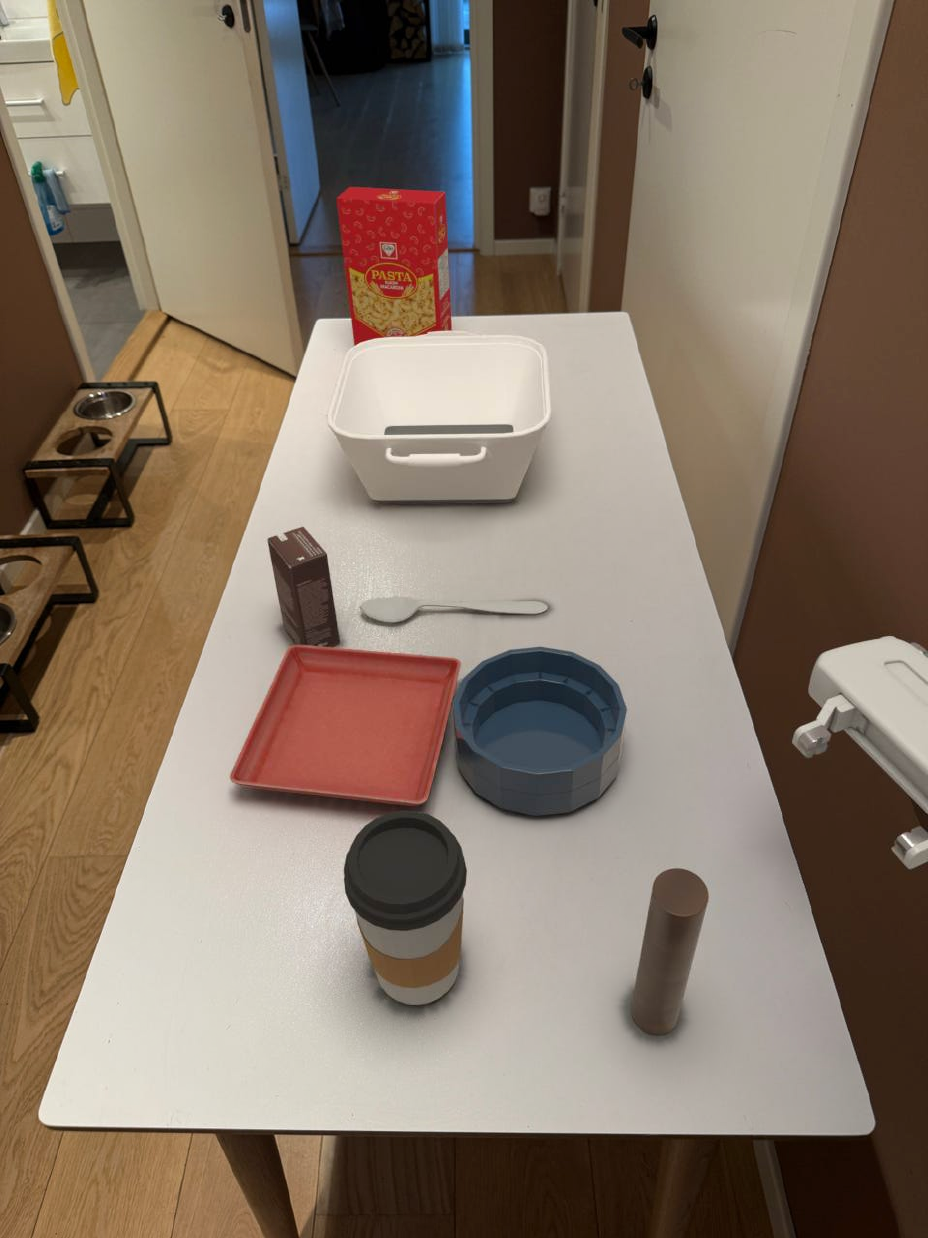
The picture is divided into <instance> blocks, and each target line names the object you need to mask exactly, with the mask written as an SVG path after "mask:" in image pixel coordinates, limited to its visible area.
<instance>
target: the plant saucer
mask: <svg viewBox="0 0 928 1238" xmlns="http://www.w3.org/2000/svg"><path fill="white" fill-rule="evenodd" d="M461 666H462V662H461V661H460V660H459V659H458V658H455V657H448V656H436V655H425V654H413V653H400V652H391V651H377V650H365V649H353V648H342V647H333V646H332V647H320V646H311V645H296V644H293V645H289V646H288V647H287V649H286V651H285V653H284V656H283V657H282V660H281V661H280V664H279V666H278V668H277V671H276V673H275V674H274V677H273V680H272V681H271V684H270V685H269V688H268V690H267V693H266V695H265V697H264V700H263V701H262V703H261V706H260V708H259V711H258V712H257V714H256V717H255V718H254V722H253V723H252V726H251V728H250V730H249V732H248V734H247V737H246V739H245V740H244V743H243V745H242V747H241V750H240V752H239V754H238V756H237V758H236V761H235V762H234V765H233V768H232V769H231V772H230V773H229V780H230V782H231V783H232V784H235V785H238V786H240V787H241V786H242V787H246V788H250V789H257V790H263V791H264V790H265V791H273V792H282V793H293V794H301V795H311V796H319V797H320V796H321V797H328V798H336V799H343V800H344V799H346V800H354V801H355V800H356V801H363V802H373V803H380V804H389V805H398V806H407V807H408V806H409V807H411V806H415V807H416V806H419V805H422V804H424V803H425V802H426V801H428V799H429V796H430V792H431V788H432V784H433V781H434V777H435V773H436V768H437V765H438V761H439V757H440V753H441V748H442V745H443V741H444V736H445V731H446V728H447V724H448V719H449V716H450V711H451V708H452V707H451V706H452V704H453V700H454V695H455V691H456V686H457V682H458V678H459V674H460V671H461Z"/></svg>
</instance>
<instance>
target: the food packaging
mask: <svg viewBox="0 0 928 1238" xmlns="http://www.w3.org/2000/svg"><path fill="white" fill-rule="evenodd" d="M446 197H447V196H446V191H437V190H435V191H434V190H415V189H397V188H378V187H361V186H349V187H347V188H346V189H345V190H344V191H343V192H342V193H341V194H340V195H339V196H338V197H336V205H337V213H338V222H339V231H340V238H341V247H342V254H343V261H344V271H345V280H346V288H347V297H348V303H349V312H350V320H351V328H352V337H353V344H354V346H356V345H357V344H359V343H361V342H365V341H368V340H372V339H376V338H385V337H415V336H419V335H424V334H428V332H434V331H453V328H452V327H453V326H452V308H451V305H452V304H451V303H452V302H451V286H450V285H451V284H450V283H451V281H450V261H449V243H448V241H449V240H448V218H447V198H446ZM354 346H353V347H354Z"/></svg>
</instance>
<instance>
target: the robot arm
mask: <svg viewBox="0 0 928 1238" xmlns="http://www.w3.org/2000/svg"><path fill="white" fill-rule="evenodd" d="M807 691H808V695H809V696H810V698H811V699H812V700H814V702H815V703H816V704H817V705H818V706H819V707H820V708H821V710H820V711H819V712H818V715H817V717H816V718H815V720H813V721H811V722H808V723H806V724H804V725H800V726H799V727H798V728H797V729H796V730H795V731H794V733H793V737H792V740H791V743H792V745H794V747H795V748H796V749H797V750H798V751H799V752H800V753H801V754H802V755H803V756H804V757H805V758H806V759H811V758H813V757H814V756H815V755H816V756H819V755H822V754H823V753H826V751H827V749H828V747H829V744H828V742H830V740H831V738H832V733H838V732H841V731H844V732H845V733H846V734H847V735H848V736H849V737H850V738H851V739H852V740H853V741H854V742H855V743H856V744H857V745H858V746H859V747H860V748H861V749H862V751H864V752H865V753H866V754H867V755H868V756H869V757H870V758H871V759H872V760H873V761H874V762H875V763H876V764H877V765H878V766H879V767H880V768H881V769H882V771H884V772H885V773H886V774H887V775H888V776H889V777H890V778H891V779H892V780H893V781H894V782H895V783H896V784H897V785H898V786H899V788H901V789H902V790H903V791H904V792H905V793H906V794H907V795H908V796H909V797H910V799H912V801H914V802H915V803H916V804H917V805H918V807H920V808H921V809H922V810H923V811H924V812H925V813H926V814H927V815H928V650H927V649H925V648H924V647H923V646H922V645H920V644H919V643H917V642H915V641H913V642H910V643H909V642H907V641H905V640H903V639H900V638H897V637H895V636H893V635H887V636H881V637H880V638H874V639H869V640H864V641H860V642H855V643H851V644H846V645H843V646H840V647H835V648H832V649H829V650H827V651H826V650H825V651H824V652H822V653H820V655H819V656H818V657H817V659H816V661H815V663H814V665H813V668H812V670H811V674H810V679H809V684H808V689H807ZM828 729H830V730H831V732H832V733H830V731H829V730H828ZM891 851H892V853H893V854H894V855H895V856H896V858H897V859H898V860H899V861H900V862H901V863H902V864H903V865H904V866H905V867H906V868H907V869H908V870H912V869H915V868H917V867H918V866H921V865H923V864H925V863H927V862H928V831H927V830H925V829H924V828H923V827H922V826H921V825H918V826H917V827H914V828H911V829H910V832H909V831H905V832H903V833H901V834H900V835H898V836H897V837H896V838H895V840H894V845H892V846H891Z"/></svg>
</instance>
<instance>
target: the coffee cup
mask: <svg viewBox="0 0 928 1238" xmlns="http://www.w3.org/2000/svg"><path fill="white" fill-rule="evenodd" d="M344 860H345V861H344V864H343V865H344V866H343V883H344V884H343V885H344V893H345V896H346V898H347V900H348V902H349V904H350V906H351V908H352V909H353V911H354V913H355V917H356V923H357V927H358V929H359V932H360V935H361V938H362V941H363V944H364V947H365V949H366V950H365V951H366V953H367V955H368V958H369V962H370V963H371V965H372V968H373V969H374V973H375V975H376V979H377V980H378V983H379V985H380V987H381V989H382V990H383V991H384V992H385V993H386V995H387V996H389V997H390V998H392V999H393V1000H395V1001H396V1002H399V1003H402V1004H405V1005H410V1006H421V1005H426V1004H430V1003H432V1002H434V1001H437V1000H438V999H440V998H442V997H443V996H444V995H445V994H446V993H448V992H449V991H450V989H452V986H453V985H454V983H455V982H456V980H457V977H458V974H459V969H460V959H461V956H462V955H461V954H462V953H461V952H462V939H463V923H464V922H463V921H464V905H465V904H464V903H465V898H464V890H465V888H466V886H467V877H468V868H467V864H466V859H465V856H464V853H463V848H462V846H461V844H460V842H459V841H458V839H457V837H456V836H455V834H453V832H452V831H451V830H450V828H449V827H447V825H446V824H444V823H443V822H442V821H441V820H440V819H438V818H436V817H434V816H432V815H431V814H428V813H425V812H421V811H418V810H398V811H397V810H396V811H393V812H387V813H385V814H383V815H380V816H378V817H376V818H374V819H373V820H371V821H370V822H368V823H367V824H366V825H364V826H363V827H362V828H361V829H360V830H359V832H358V833H357V834H356V835H355V837H354V839H353V841H352V842H351V844H350V848H349V849H348V851H347V853H346V855H345V859H344Z"/></svg>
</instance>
